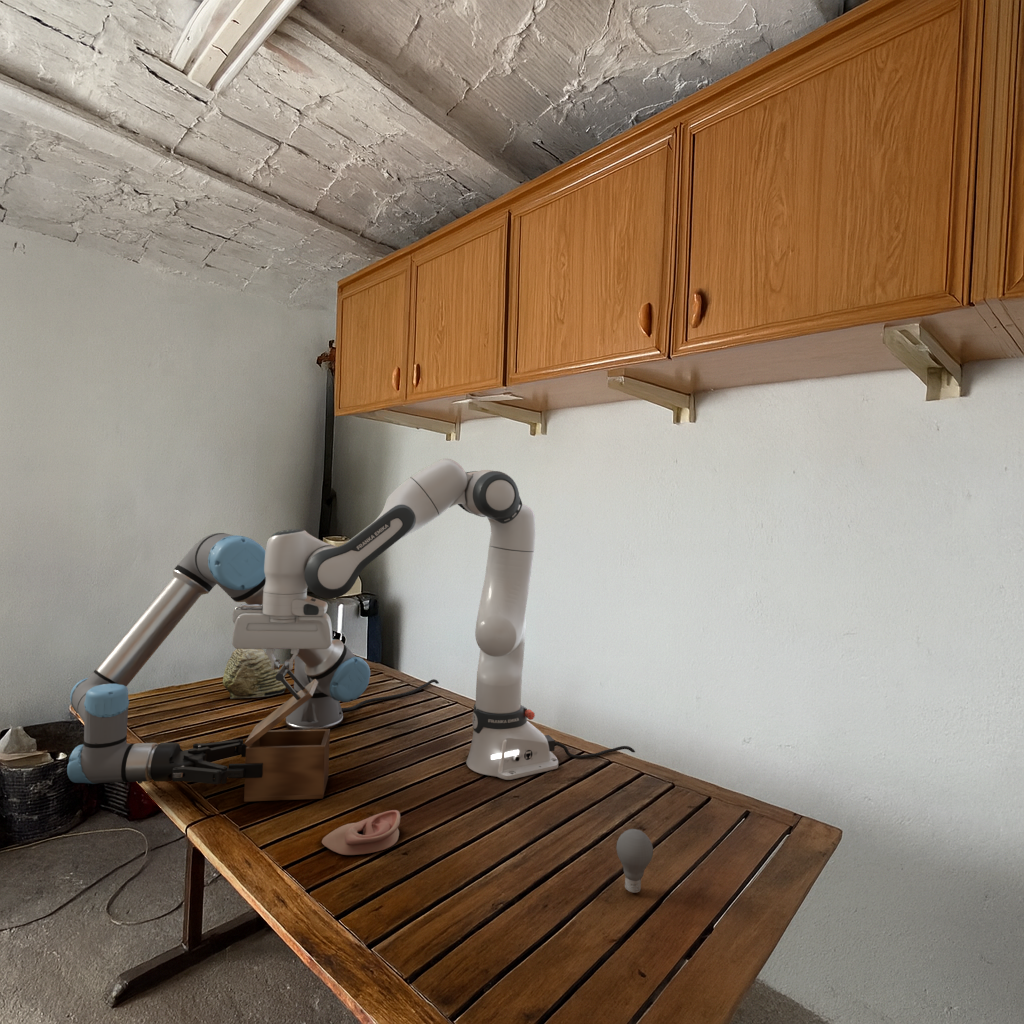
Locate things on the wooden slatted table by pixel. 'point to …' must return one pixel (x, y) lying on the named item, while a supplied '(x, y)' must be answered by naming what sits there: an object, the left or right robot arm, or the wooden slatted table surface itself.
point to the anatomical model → (365, 835)
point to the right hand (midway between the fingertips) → (282, 669)
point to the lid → (283, 705)
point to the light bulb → (634, 857)
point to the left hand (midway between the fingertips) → (267, 759)
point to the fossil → (251, 675)
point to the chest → (289, 765)
